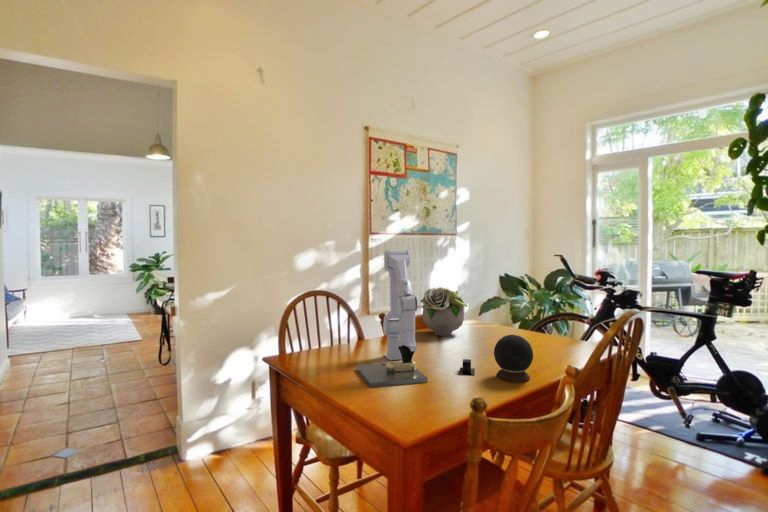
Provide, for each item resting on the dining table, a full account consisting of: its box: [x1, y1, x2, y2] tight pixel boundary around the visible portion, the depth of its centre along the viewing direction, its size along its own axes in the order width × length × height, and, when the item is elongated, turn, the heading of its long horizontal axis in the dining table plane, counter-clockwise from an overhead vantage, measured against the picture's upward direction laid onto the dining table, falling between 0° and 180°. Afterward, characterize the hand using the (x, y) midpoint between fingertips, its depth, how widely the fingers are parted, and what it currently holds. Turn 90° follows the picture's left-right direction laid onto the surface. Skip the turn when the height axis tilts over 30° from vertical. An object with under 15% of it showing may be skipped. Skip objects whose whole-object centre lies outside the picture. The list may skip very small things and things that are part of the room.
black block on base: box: [458, 358, 476, 377], centre depth 153 cm, size 12×7×5 cm, turn 166°
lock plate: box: [356, 362, 429, 388], centre depth 147 cm, size 20×20×2 cm
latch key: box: [385, 360, 417, 372], centre depth 148 cm, size 11×3×2 cm, turn 100°
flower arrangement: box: [420, 287, 469, 337], centre depth 214 cm, size 25×25×24 cm
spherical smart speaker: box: [493, 334, 534, 384], centre depth 146 cm, size 13×13×15 cm
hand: (406, 366), depth 150 cm, fingers closed
